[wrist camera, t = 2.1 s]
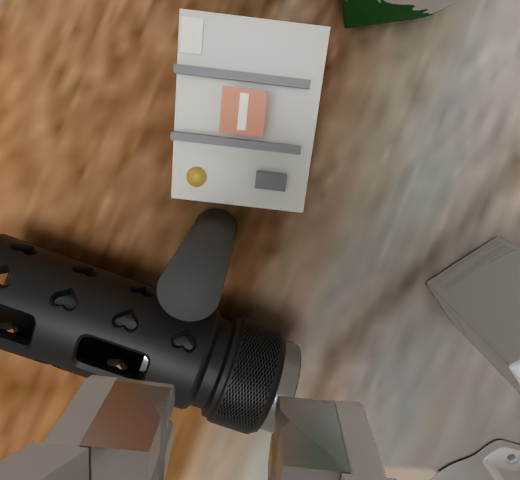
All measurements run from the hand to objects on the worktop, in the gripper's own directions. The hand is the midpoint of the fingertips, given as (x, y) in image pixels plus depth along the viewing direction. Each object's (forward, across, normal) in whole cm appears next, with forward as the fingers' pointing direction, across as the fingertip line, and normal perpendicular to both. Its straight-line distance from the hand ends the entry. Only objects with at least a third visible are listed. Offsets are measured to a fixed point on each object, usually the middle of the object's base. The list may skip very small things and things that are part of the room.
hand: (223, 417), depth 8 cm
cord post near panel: (+31, -3, -6) cm, 32 cm away
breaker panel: (+31, -1, +4) cm, 31 cm away
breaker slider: (+27, -1, +5) cm, 27 cm away
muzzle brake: (+32, -9, -15) cm, 36 cm away
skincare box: (+31, +22, -8) cm, 39 cm away
